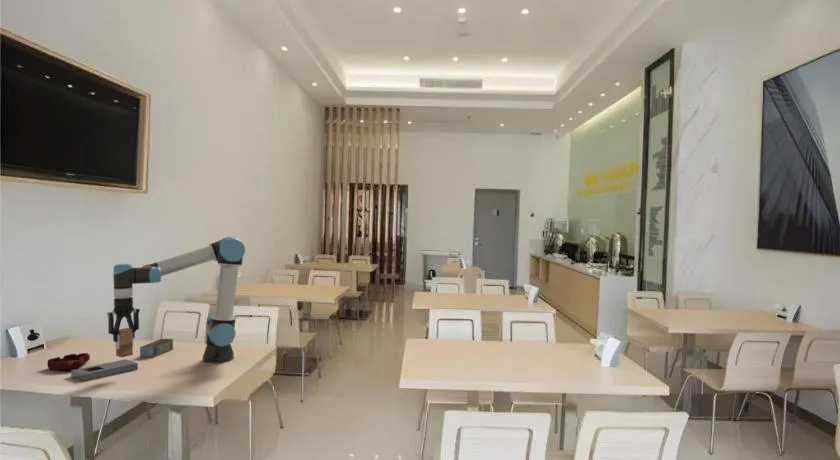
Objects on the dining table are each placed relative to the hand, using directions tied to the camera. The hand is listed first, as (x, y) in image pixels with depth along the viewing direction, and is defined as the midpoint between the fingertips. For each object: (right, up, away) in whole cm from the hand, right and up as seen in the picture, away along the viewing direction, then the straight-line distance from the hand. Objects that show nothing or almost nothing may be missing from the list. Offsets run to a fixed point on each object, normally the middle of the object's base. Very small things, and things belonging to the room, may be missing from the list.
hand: (124, 347), depth 233 cm
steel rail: (-12, -14, +6) cm, 19 cm away
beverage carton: (-7, -14, +43) cm, 45 cm away
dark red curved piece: (-36, -14, +14) cm, 41 cm away
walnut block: (0, -4, 0) cm, 4 cm away
